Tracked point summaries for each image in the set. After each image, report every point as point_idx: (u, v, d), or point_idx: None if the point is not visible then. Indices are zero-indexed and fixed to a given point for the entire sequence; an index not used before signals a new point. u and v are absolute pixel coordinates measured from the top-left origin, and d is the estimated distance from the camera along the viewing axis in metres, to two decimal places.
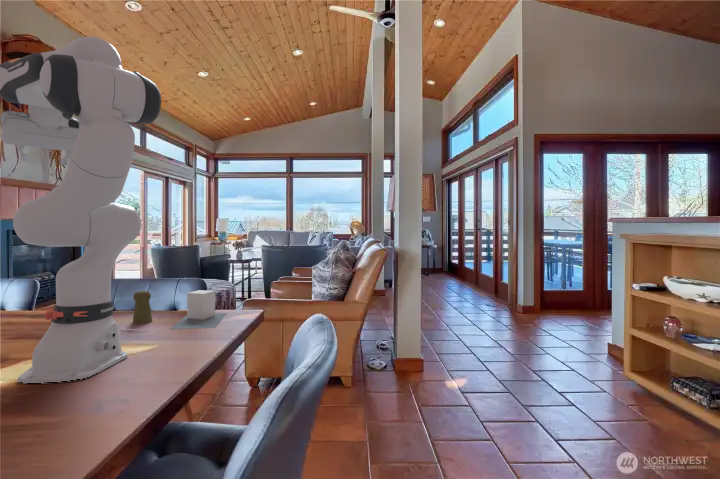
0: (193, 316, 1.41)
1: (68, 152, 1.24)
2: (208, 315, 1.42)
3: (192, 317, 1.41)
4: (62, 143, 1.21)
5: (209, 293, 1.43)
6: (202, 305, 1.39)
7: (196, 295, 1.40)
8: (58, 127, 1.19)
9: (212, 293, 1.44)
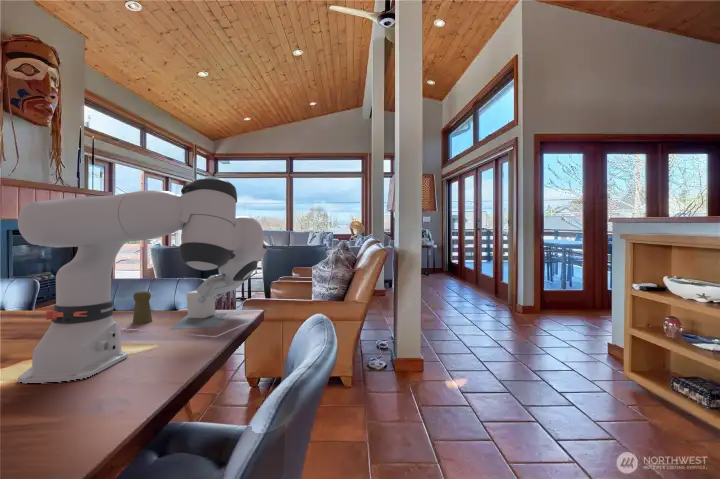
0: (194, 315, 1.41)
1: None
2: (208, 314, 1.42)
3: (193, 316, 1.41)
4: (229, 288, 1.45)
5: None
6: (202, 304, 1.40)
7: (196, 294, 1.40)
8: None
9: None
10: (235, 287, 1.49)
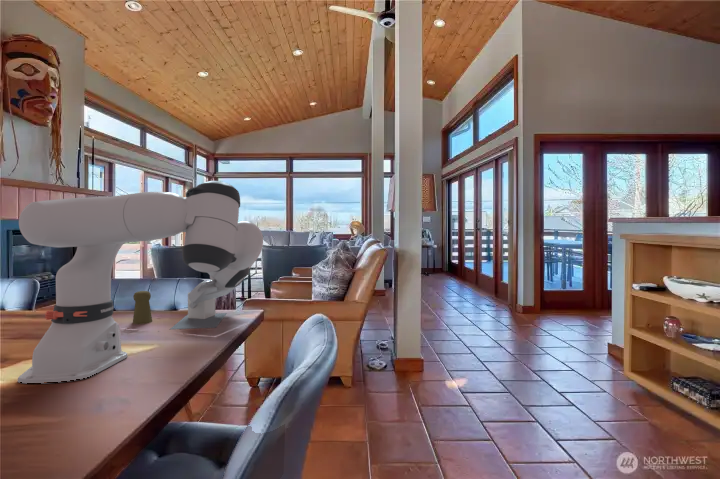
0: (194, 316, 1.41)
1: None
2: (208, 314, 1.42)
3: (193, 317, 1.41)
4: (220, 293, 1.45)
5: None
6: (203, 305, 1.40)
7: None
8: None
9: None
10: (226, 292, 1.49)
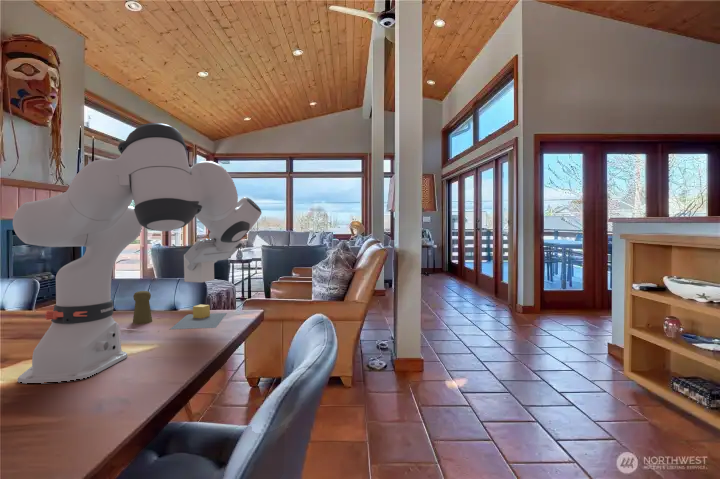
0: (190, 279, 1.30)
1: (216, 260, 1.36)
2: (206, 278, 1.31)
3: (189, 280, 1.30)
4: (220, 256, 1.35)
5: None
6: (200, 267, 1.29)
7: None
8: None
9: None
10: (227, 256, 1.38)
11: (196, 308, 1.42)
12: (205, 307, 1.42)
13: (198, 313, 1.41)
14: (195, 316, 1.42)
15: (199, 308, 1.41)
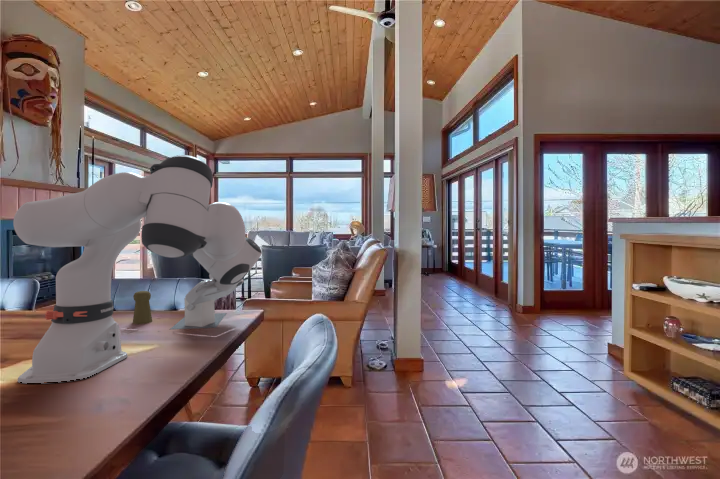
0: (191, 323, 1.30)
1: None
2: (207, 322, 1.31)
3: (190, 324, 1.30)
4: (221, 294, 1.35)
5: None
6: (201, 311, 1.29)
7: None
8: None
9: None
10: (227, 293, 1.39)
11: None
12: None
13: None
14: None
15: None
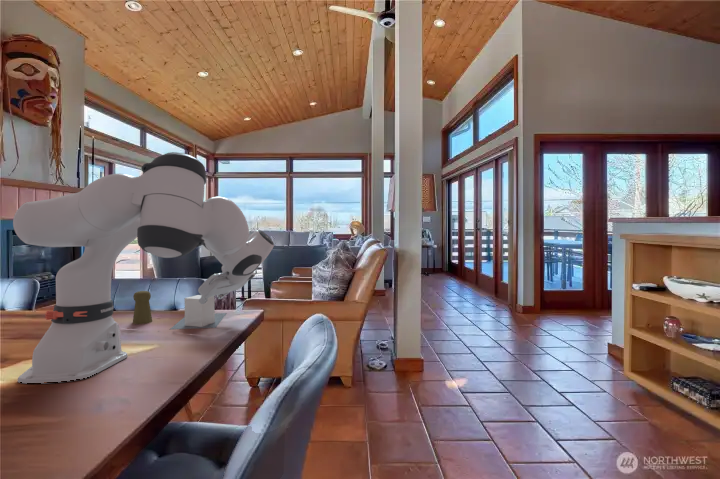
0: (191, 323, 1.30)
1: None
2: (207, 322, 1.31)
3: (190, 324, 1.30)
4: (232, 288, 1.34)
5: (208, 298, 1.32)
6: (201, 311, 1.29)
7: (194, 301, 1.29)
8: None
9: (211, 298, 1.34)
10: (239, 286, 1.38)
11: None
12: None
13: None
14: None
15: None
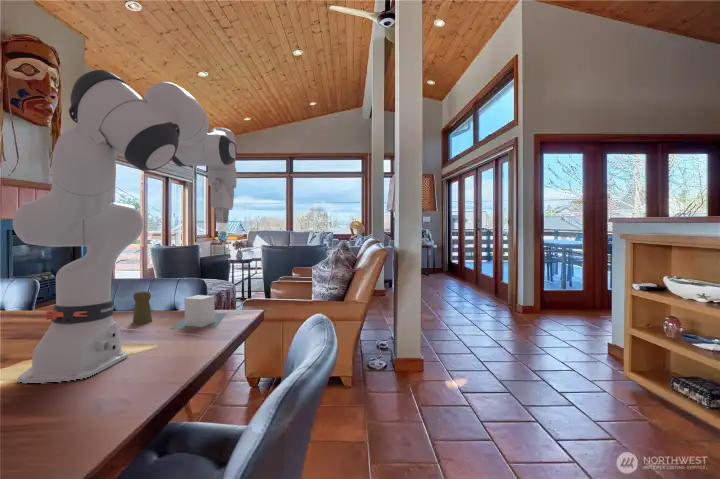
0: (191, 323, 1.30)
1: (228, 210, 1.35)
2: (207, 322, 1.31)
3: (190, 324, 1.30)
4: (229, 202, 1.33)
5: (208, 298, 1.32)
6: (201, 311, 1.29)
7: (194, 301, 1.29)
8: None
9: (211, 298, 1.34)
10: (231, 203, 1.37)
11: None
12: None
13: None
14: None
15: None
